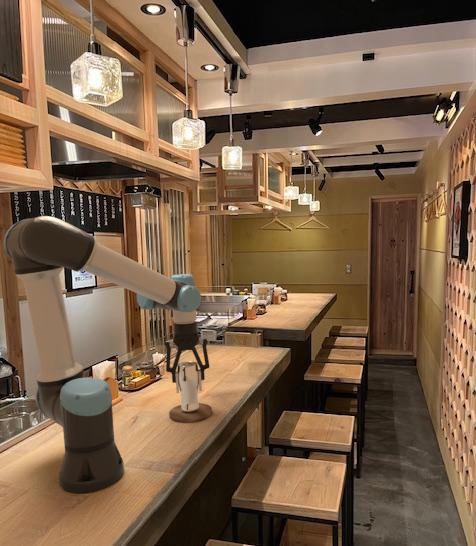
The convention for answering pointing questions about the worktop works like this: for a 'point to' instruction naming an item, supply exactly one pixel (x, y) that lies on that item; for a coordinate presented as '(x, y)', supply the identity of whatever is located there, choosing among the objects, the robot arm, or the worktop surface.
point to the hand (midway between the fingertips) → (189, 390)
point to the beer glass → (188, 385)
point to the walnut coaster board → (190, 414)
